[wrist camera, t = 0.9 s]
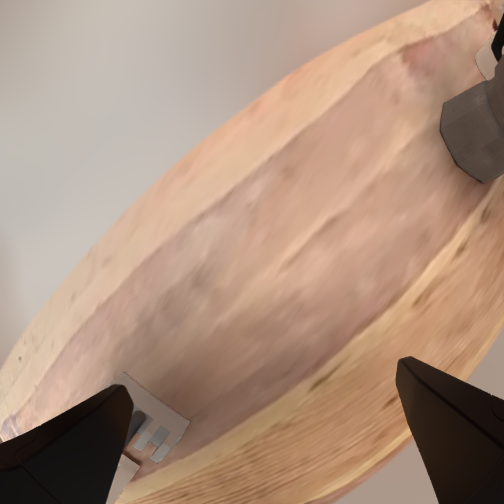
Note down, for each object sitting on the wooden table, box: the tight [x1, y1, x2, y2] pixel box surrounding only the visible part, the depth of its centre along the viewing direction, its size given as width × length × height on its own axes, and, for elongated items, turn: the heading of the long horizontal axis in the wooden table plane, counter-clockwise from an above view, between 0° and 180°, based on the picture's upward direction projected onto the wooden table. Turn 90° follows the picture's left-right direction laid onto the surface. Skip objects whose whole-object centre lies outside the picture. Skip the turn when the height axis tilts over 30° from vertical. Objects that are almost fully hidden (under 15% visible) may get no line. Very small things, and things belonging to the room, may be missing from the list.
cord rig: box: [105, 373, 190, 464], centre depth 19 cm, size 19×7×5 cm, turn 145°
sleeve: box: [106, 454, 140, 504], centre depth 17 cm, size 4×5×7 cm
